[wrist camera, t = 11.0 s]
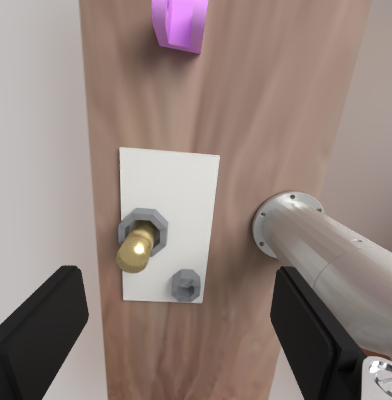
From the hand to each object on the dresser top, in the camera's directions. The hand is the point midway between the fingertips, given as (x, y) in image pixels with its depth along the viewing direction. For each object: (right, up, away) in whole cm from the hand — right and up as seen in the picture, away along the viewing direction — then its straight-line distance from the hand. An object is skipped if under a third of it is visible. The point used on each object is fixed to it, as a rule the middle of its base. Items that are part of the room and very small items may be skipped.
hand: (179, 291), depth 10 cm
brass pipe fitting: (-8, 0, +24) cm, 25 cm away
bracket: (0, +31, +16) cm, 35 cm away
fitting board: (-4, -1, +26) cm, 26 cm away
